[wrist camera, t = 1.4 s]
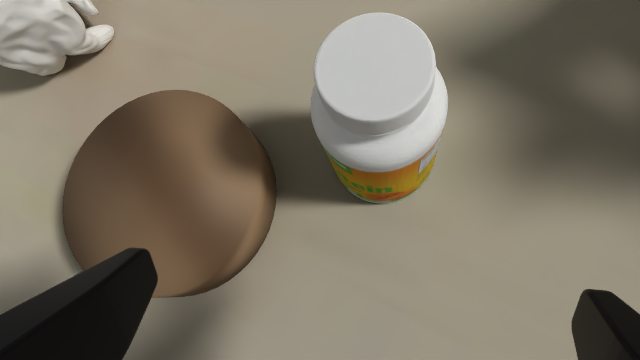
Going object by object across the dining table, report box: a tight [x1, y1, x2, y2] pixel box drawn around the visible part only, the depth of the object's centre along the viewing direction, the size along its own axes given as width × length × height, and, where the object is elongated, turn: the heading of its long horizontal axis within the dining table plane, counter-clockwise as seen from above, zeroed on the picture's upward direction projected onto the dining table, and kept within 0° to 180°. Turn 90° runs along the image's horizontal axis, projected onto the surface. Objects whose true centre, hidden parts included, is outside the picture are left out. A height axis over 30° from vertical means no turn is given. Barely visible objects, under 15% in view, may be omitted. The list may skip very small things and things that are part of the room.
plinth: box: [63, 90, 276, 298], centre depth 22 cm, size 11×11×3 cm
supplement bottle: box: [311, 13, 448, 203], centre depth 18 cm, size 5×5×10 cm
